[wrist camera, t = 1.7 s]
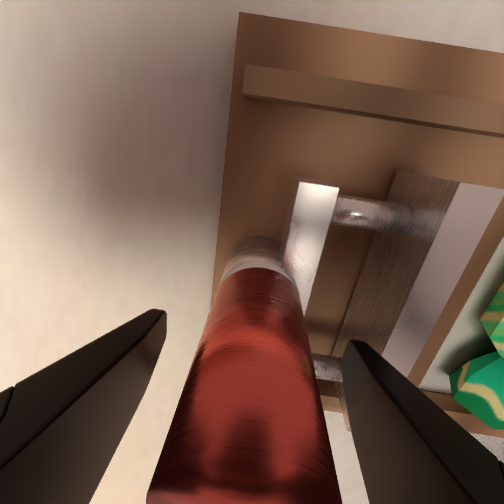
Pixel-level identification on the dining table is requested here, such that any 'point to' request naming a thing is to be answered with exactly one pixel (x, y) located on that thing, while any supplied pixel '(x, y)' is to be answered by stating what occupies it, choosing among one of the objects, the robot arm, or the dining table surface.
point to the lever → (297, 343)
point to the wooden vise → (357, 153)
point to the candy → (485, 371)
